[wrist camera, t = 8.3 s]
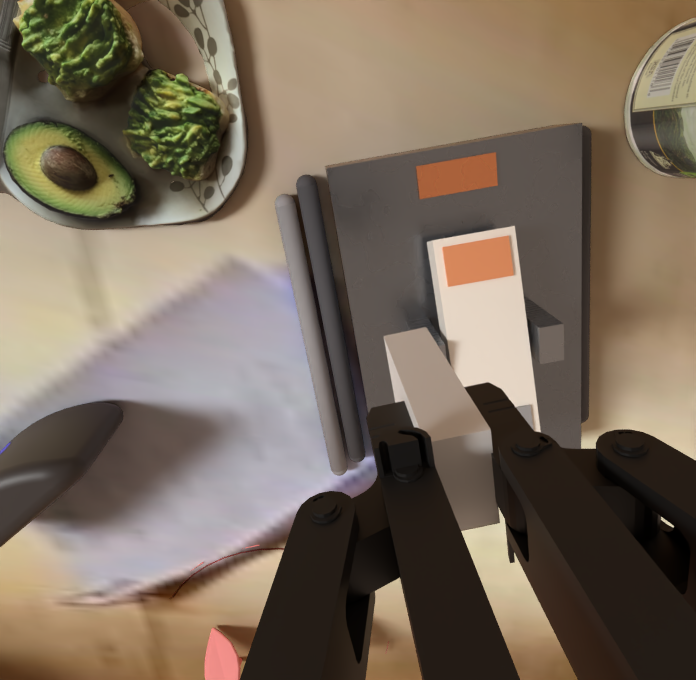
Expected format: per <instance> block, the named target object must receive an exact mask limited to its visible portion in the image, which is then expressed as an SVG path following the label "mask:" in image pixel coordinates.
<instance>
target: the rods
mask: <svg viewBox="0 0 696 680" xmlns="http://www.w3.org/2000/svg"><path fill="white" fill-rule="evenodd" d="M296 187H297V193H298V198H299V203H300V208H301V213H302V218H303V223H304V228H305V234H306V239H307V244H308V249H309V254H310V259H311V264H312V269H313V274H314V280H315V285H316V290H317V295H318V300H319V305H320V310H321V315H322V320H323V326H324V331H325V336H326V341H327V346H328V351H329V356H330V361H331V367H332V372H333V377H334V382H335V387H336V392H337V397H338V402H339V407H340V413H341V418H342V423H343V428H344V433H345V438H346V443H347V448H348V454H349V457H350V459H351V460H352V461H354V462H360V461H362V460H363V459H364V457H365V449H364V443H363V437H362V432H361V426H360V421H359V415H358V410H357V404H356V399H355V393H354V388H353V382H352V377H351V371H350V366H349V360H348V355H347V349H346V344H345V338H344V332H343V327H342V321H341V316H340V310H339V305H338V299H337V294H336V288H335V283H334V277H333V272H332V266H331V261H330V255H329V250H328V244H327V239H326V233H325V228H324V222H323V216H322V211H321V205H320V200H319V194H318V189H317V183H316V181H315V179H314V178H313V177H312V176H310V175H302V176H301V177H299V179H298V180H297V183H296ZM275 208H276V213H277V217H278V222H279V227H280V231H281V236H282V241H283V246H284V250H285V255H286V260H287V264H288V269H289V274H290V278H291V283H292V288H293V292H294V297H295V302H296V307H297V311H298V316H299V321H300V325H301V330H302V335H303V339H304V344H305V349H306V353H307V358H308V363H309V368H310V372H311V377H312V382H313V386H314V391H315V396H316V400H317V405H318V410H319V414H320V419H321V424H322V428H323V433H324V438H325V443H326V447H327V452H328V457H329V461H330V466H331V470H332V472H333V473H334V474H335V475H339V476H340V475H343V474H344V473H345V472H346V471H347V462H346V457H345V452H344V447H343V442H342V437H341V432H340V426H339V421H338V416H337V411H336V406H335V401H334V396H333V391H332V386H331V381H330V376H329V371H328V366H327V361H326V356H325V351H324V346H323V341H322V336H321V331H320V326H319V321H318V316H317V311H316V306H315V301H314V296H313V291H312V285H311V280H310V275H309V270H308V265H307V260H306V255H305V250H304V245H303V240H302V235H301V230H300V225H299V220H298V215H297V210H296V205H295V201H294V199H293V198H292V197H291V196H290V195H288V194H282V195H280V196H278V197H277V199H276V201H275ZM590 227H591V131H590V129H589V128H588V127H586V126H582V292H581V423H583V422H585V421H586V420H587V419H588V416H589V325H590Z"/></svg>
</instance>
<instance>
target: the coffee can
mask: <svg viewBox="0 0 696 680" xmlns="http://www.w3.org/2000/svg"><path fill="white" fill-rule="evenodd" d="M624 118H625V130H626V135H627V139H628V142H629V144H630V146H631V148H632V150H633V152H634V154H635V155H636V156H637V158H638V159H639V160H640V161H641V163H642V164H643V165H645V166H646V167H647V168H649V169H650V170H652V171H653V172H656V173H658V174H660V175H663V176H667V177H673V178H696V18H692V19H689V20H687V21H685V22H683V23H681V24H679V25H677V26H675V27H674V28H672V29H671V30H669V31H668V32H667V33H666V34H664V35H663V36H662V37H661V38H660V39H659V40H658V41H657V42H656V43H655V44H654V45H653V46H652V47H651V48H650V49H649V50H648V52H647V53H646V55H645V56H644V58H643V59H642V61H641V62H640V64H639V65H638V67H637V69H636V71H635V73H634V75H633V77H632V80H631V82H630V85H629V88H628V92H627V96H626V102H625V109H624Z"/></svg>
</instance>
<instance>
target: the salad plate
mask: <svg viewBox="0 0 696 680" xmlns="http://www.w3.org/2000/svg"><path fill="white" fill-rule="evenodd" d="M145 1H148V0H0V193H6V194H9V195H11V196H13V197H14V198H16V199H17V200H18V201H20V202H21V203H22V204H23V205H25V206H26V207H27V208H28V209H30V210H31V211H32V212H34V213H35V214H37V215H39V216H40V217H42V218H44V219H46V220H48V221H51V222H54V223H56V224H59V225H62V226H66V227H71V228H76V229H86V230H104V229H116V228H129V227H140V226H155V225H182V224H186V223H191V222H200V221H204V220H207V219H209V218H210V217H212V216H213V215H215V214H216V213H217V212H218V211H219V210H220V209H221V208H222V207H223V206H224V204H225V203H226V202H227V200H228V199H229V198H230V196H231V195H232V194H233V192H234V191H235V189H236V187H237V185H238V183H239V180H240V178H241V176H242V174H243V171H244V168H245V162H246V155H247V148H248V128H247V119H246V115H245V111H244V108H243V104H242V98H241V91H240V83H239V77H238V71H237V65H236V56H235V50H234V45H233V39H232V34H231V30H230V26H229V22H228V18H227V13H226V8H225V4H224V1H223V0H158V1H159V2H161V3H162V4H163V5H164V6H166V7H167V8H168V9H169V10H171V11H172V12H173V13H174V14H175V15H176V16H177V17H178V19H179V20H180V21H181V23H182V24H183V25H184V27H185V28H186V29H187V30H188V31H189V33H190V34H191V35H192V37H193V39H194V41H195V43H196V44H197V46H198V49H199V52H200V54H201V55H202V57H203V60H204V64H205V67H206V72H207V75H208V79H209V83H210V88H211V92H210V91H208V90H207V89H205V88H203V87H201V86H199V85H196V84H193V83H191V82H189V81H188V77H187V76H185V75H184V74H176V76H174V75H172V74H169V73H167V72H165V71H163V70H160V69H155V70H153V69H152V68H151V67H150V66H149V65H148V63H147V61H146V60H145V59H144V55H143V52H142V40H141V36H140V33H139V30H138V27H137V25H136V24H135V22H134V20H133V19H132V17H131V16H130V15H129V13H128V12H127V10H128V9H129V8H131V7H133V6H135V5H137V4H139V3H141V2H145ZM40 71H46V72H47V73H48V75H49V77H48V82H47V83H43V82H40V81H39V79H38V73H39V72H40ZM173 181H174V182H173ZM172 182H173V183H172Z"/></svg>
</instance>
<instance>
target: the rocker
mask: <svg viewBox="0 0 696 680" xmlns="http://www.w3.org/2000/svg"><path fill="white" fill-rule="evenodd" d="M427 248H428V254H429V261H430V268H431V274H432V281H433V287H434V294H435V301H436V307H437V314H438V321H439V327H440V334H441V339H442V341H443V342H444V344H445V348H446V358H447V361H448V363H449V364H450V366H451V367H452V369H453V370H454V372H455V374H456V375H457V377H458V378H459V380H460V382H461V383H462V385H463V386H464V387H467V386H472V385H477V384H482V383H486V382H489V383H491V384H493V385H495V386H497V387H499V388H501V389H502V390H503V391H504V393H505V394H506V395H507V397H508V398H509V400H511V402H512V403H513V404H514V406H515V408H517V409H518V411H519V412H520V413H521V415H522V416H523V417H524V418H525V420H526V421H527V422H528V424H529V425H530V426H531V428H532V429H533V430H534V431H535V432H541V430H540V422H539V414H538V406H537V399H536V391H535V383H534V375H533V367H532V359H531V351H530V343H529V335H528V327H527V319H526V311H525V303H524V295H523V288H522V280H521V272H520V264H519V256H518V248H517V240H516V232H515V226H511V227H505V228H499V229H494V230H488V231H483V232H477V233H471V234H466V235H460V236H454V237H449V238H443V239H438V240H432V241H429V242H427Z"/></svg>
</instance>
